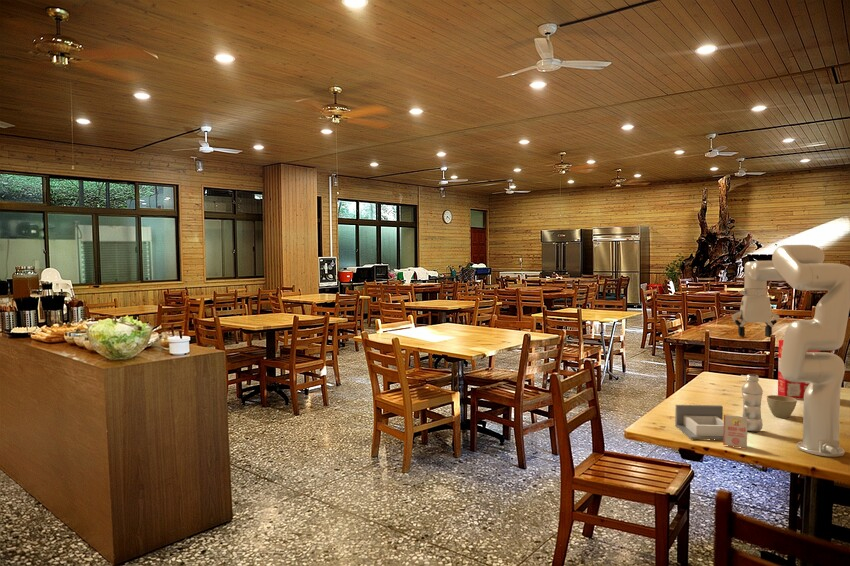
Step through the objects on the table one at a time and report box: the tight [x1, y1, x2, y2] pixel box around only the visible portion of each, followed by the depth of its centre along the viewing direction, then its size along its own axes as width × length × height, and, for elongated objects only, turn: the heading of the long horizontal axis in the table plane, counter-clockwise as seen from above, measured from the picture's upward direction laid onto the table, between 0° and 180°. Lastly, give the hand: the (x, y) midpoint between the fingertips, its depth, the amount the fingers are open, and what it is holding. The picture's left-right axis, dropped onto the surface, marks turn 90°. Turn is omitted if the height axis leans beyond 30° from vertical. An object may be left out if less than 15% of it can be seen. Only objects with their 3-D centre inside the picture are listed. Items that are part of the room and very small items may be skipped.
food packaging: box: [777, 339, 821, 398], centre depth 252 cm, size 15×5×25 cm, turn 89°
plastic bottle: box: [741, 374, 764, 432], centre depth 204 cm, size 6×7×20 cm
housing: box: [674, 404, 724, 441], centre depth 202 cm, size 16×16×8 cm
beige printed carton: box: [722, 414, 748, 449], centre depth 189 cm, size 4×7×10 cm, turn 61°
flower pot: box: [766, 394, 798, 419], centre depth 222 cm, size 10×10×7 cm
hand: (754, 336), depth 223 cm, fingers open, 9 cm apart
